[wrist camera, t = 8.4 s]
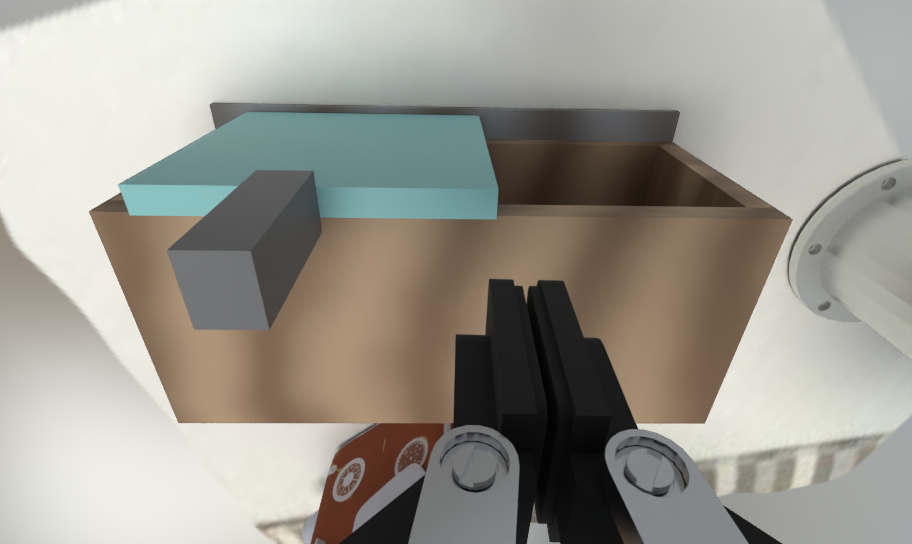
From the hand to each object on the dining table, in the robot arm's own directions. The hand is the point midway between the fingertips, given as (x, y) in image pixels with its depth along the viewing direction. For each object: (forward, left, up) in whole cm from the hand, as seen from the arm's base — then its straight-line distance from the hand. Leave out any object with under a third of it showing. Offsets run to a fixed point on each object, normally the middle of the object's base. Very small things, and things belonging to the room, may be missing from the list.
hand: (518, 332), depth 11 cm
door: (+7, 0, -20) cm, 21 cm away
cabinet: (+2, +7, -20) cm, 21 cm away
